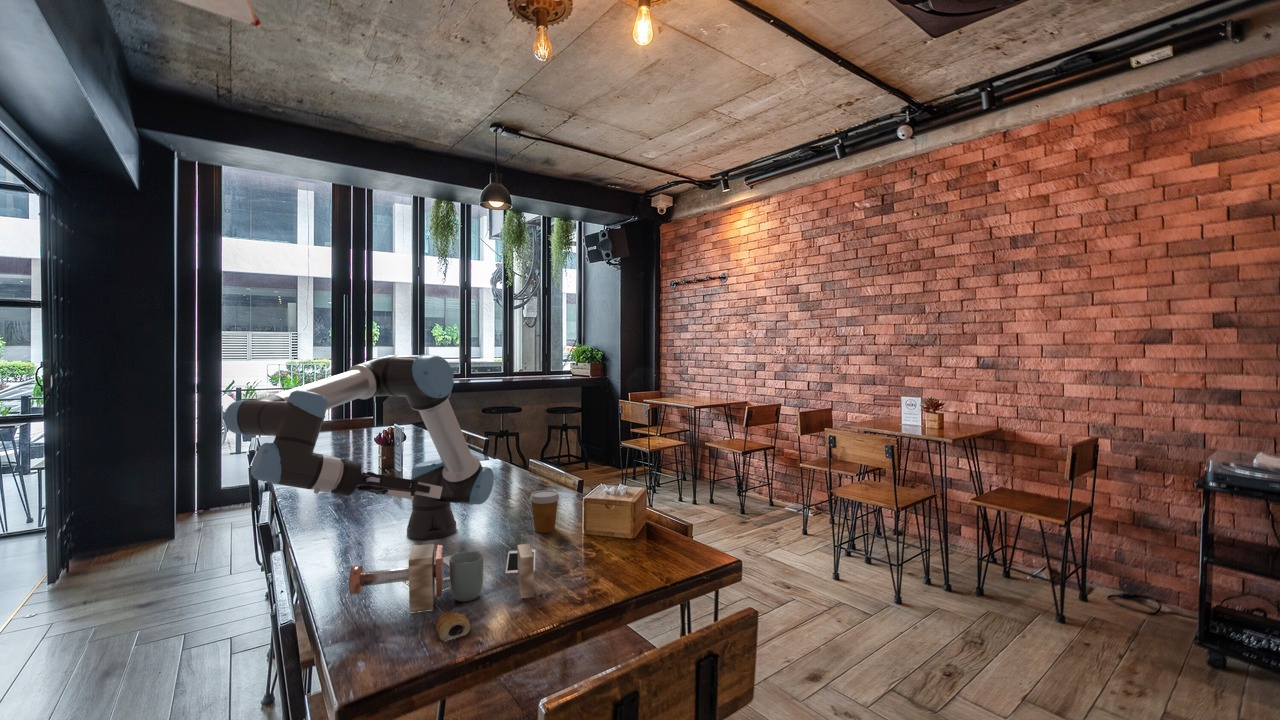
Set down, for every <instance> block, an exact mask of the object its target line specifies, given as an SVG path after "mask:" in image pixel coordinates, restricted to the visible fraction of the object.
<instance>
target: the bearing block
mask: <svg viewBox="0 0 1280 720" xmlns="http://www.w3.org/2000/svg"><path fill="white" fill-rule="evenodd" d="M434 560H435V543H428V544H427V543H426V544H418V545H412V546H411V549H410V552H409V557H408V567H409V585H408V593H409V594H408V597H409V606H408V607H409V613H410V612H418V611H426V610H432V609H433V610H434V607H433V605H434V604H435V598H436V597H435V595H436V584H435V581H436V578H433V564H435V563H434ZM434 597H435V598H434Z"/></svg>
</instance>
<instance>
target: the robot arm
mask: <svg viewBox="0 0 1280 720" xmlns="http://www.w3.org/2000/svg"><path fill="white" fill-rule="evenodd" d="M453 371H454V370H453V368H452V366H451V364H450V363H449V362H448V361H447V360H446V359H445V358H443V357H441V356H439V355H434V354H433V355H432V354H427V353H426V354H420V355H419V354H418V355H414V354H411V355H410V354H392V355H390V354H389V355H385V356H382V357H381V356H380V357H378V358H374V359H370V360H368V361H364V362H362V363H358V364H355V365H353V366H351V367H350V368H349V369H348V370H347V371H344V372H342V373H339V374H335V375H332V376H329V377H326V378H323V379H319V380H315V381H313V382H310V383H307V384H303V385H301V386H295V387H294V388H290V389H287V390H283V391H281V392H278V393H275V394H272V395H266V396H264V397H262V398H261V397H260V398H257V399H247V398H245V399H241V400H236V401H234V402H232V403H230V405H228V407H227V408H226V410H225V412H224V415H223V416H224V417H223V420H224V421H223V422H224V425H225V427H226V429H227V430H229V431H230V432H231V433H233V434H237V435H243V436H261V437H262V436H267V437H271V436H272V437H274V440H273V442H264V443H262V444H261V445H260V446H259V447H258V449H257V450H256V454H255V455H254V457H253V460H252V464H251V467H250V474H251V477H252V478H253V479H254V480H256V481H260V482H266V483H269V484H270V483H271V484H273V485H278V486H279V485H280V486H287V487H293V488H297V489H304V490H311V491H312V490H313V494H315V495H318V494H319V492H323V493H330V492H331V494H333V495H338V496H344V497H349V496H351V495H352V494H353V493H354V492H355V491H356V490H358V491H360V492H368V493H372V494H375V495H386V496H391V497H395V498H402V499H407V500H411V504H412V509H411V514H410V517H409V521H408V524H407V527H406V536H407V537H408V538H410V539H412V540H418V541H419V540H420V541H425V540H428V541H429V540H436V539H441V538H442V539H443V538H446V537H448V536H450V535H451V536H452V535H453V534H454V533H456V532H457V521H456V519H455V515H454V513H453V510H452V508H451V507H452V505H451V503H452V504H453V503H454V504H463V505H472V506H473V505H482V504H484V503H486V501H487V500H489V498H490V495H491V494H492V490H493V487H494V482H495V481H494V479H495V477H494V471H493V469H492V468H491V467H488V466H482V462H481V461H480V458H479V457H478V456H476V455H474V454H472V452H471V450H470V448H469V446H468V443H467V440H466V438H465V436H464V434H463V431H462V429H461V426H460V424H459V422H458V419H457V416H456V415H455V412H454V409H453V408H452V405H451V403H450V400H449V398H450V397H451V394H452V390H453V387H454V384H455V383H454V382H455V381H454V380H453V379H454V378H455V377H454V372H453ZM374 397H375V398H376V397H400V398H402V397H405V398H406V400H407V402H408V404H409V407H410V408H411V409H412V410H413V411H418V412H419V414H420V417H421V419H422V421H423V424H424V425H425V427H426V429H427V431H428V432H427V433H428V434H429V436H430V438H431V440H432V443H433V445H434V447H435V449H436V452H437V453H438V456H439V458H440V459H432V460H428V461H424V462H420V463H417V464H415V465H413V467H412V469H411V477H410V478H403V477H397V476H390V475H385V474H377V473H375V472H372V471H367V472H362V465H361V463H360V462H358V461H354V460H350V459H343V458H340V457H338V456H337V457H336V456H333V455H328V454H323V453H317V452H315V451H314V450H315V447H316V444H317V441H318V439H319V436H320V432H321V429H322V427H323V423H324V421H325V419H326V412H327V410H330V409H333V408H336V407H339V406H341V405H344V404H346V403H350V402H352V401H354V400H355V401H356V400H357V399H359V400H368V399H370V398H374ZM341 459H342V460H341Z"/></svg>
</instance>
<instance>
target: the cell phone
mask: <svg viewBox="0 0 1280 720" xmlns="http://www.w3.org/2000/svg"><path fill="white" fill-rule="evenodd" d="M531 550H532V553H533V556H534V572H536V549H533V548H532V549H531ZM505 566H506V567H505V574H506V575H507V574H510V573H511V574H518V550H509V551H508V552H507V560H506V565H505ZM511 574H510V575H511Z"/></svg>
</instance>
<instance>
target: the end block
mask: <svg viewBox="0 0 1280 720" xmlns="http://www.w3.org/2000/svg"><path fill="white" fill-rule="evenodd" d="M532 550H533V549H532V547H531V544H530V543H524V544H523V543H522V544H517V551H518V573H517V586H518V589H519V590H518V591H519V594H520V599H521V600H522V598H524V599H529V598H534V597H535V579H534V578H535V574H534V573H535V571H534V556H533V553H532Z"/></svg>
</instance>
